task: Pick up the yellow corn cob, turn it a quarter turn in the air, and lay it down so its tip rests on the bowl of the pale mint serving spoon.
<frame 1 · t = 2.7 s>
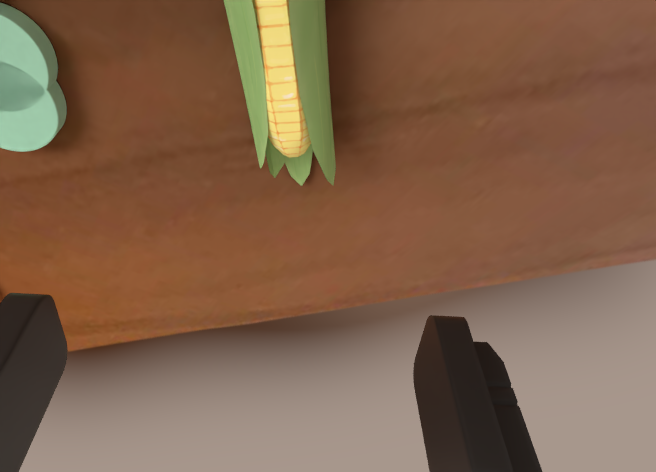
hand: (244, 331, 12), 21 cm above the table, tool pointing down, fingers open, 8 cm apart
edible corn: (282, 23, 29), on the table
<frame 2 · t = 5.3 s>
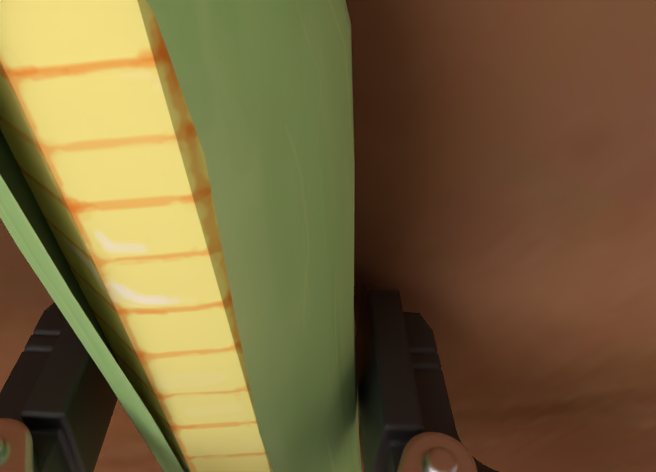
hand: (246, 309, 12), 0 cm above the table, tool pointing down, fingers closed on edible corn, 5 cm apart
edible corn: (252, 287, 13), on the table, touching gripper
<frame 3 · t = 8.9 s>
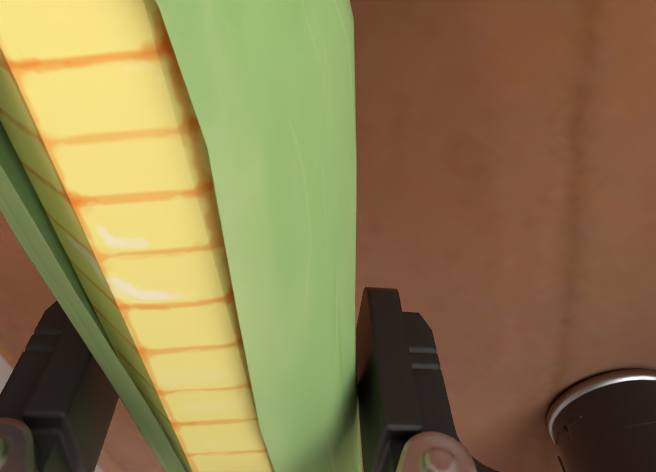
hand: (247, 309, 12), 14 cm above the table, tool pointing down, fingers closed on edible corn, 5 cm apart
edible corn: (253, 285, 13), point 13 cm above the table, touching gripper
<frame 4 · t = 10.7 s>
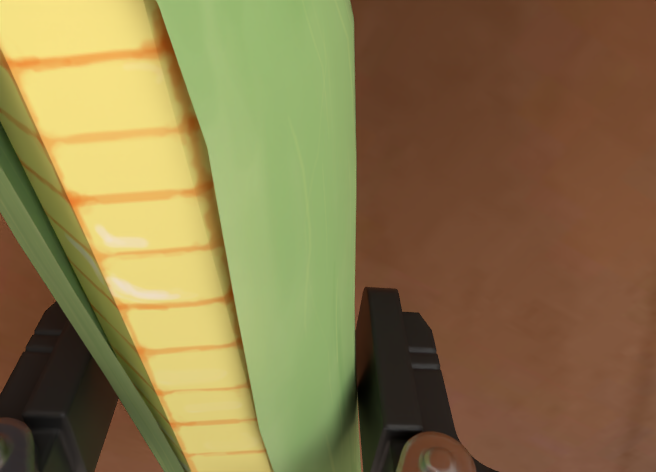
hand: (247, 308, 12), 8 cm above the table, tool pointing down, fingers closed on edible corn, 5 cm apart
edible corn: (252, 285, 13), point 7 cm above the table, touching gripper
when the fingers open (2 cm above the table, at t = 12.4 s): edible corn stays where it is, resting on spoon.
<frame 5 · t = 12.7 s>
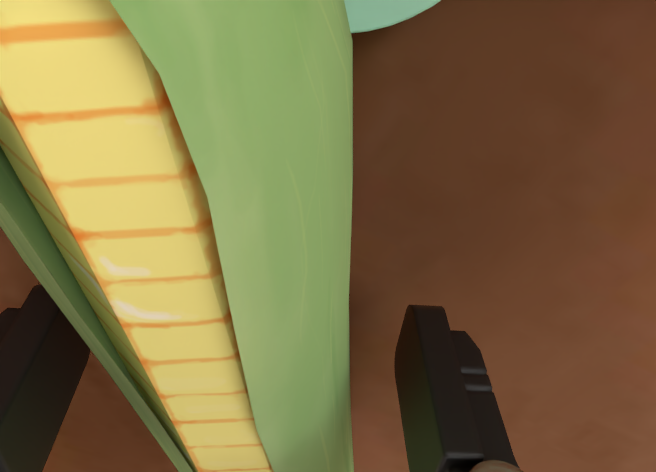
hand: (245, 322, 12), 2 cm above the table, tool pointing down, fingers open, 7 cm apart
edible corn: (250, 275, 13), point 1 cm above the table, touching spoon
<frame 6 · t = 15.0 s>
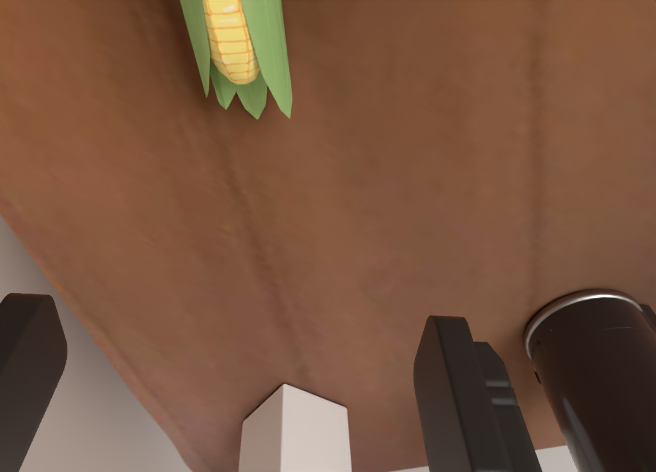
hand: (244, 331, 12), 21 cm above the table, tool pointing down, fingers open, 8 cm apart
milk carton: (294, 411, 50), on the table
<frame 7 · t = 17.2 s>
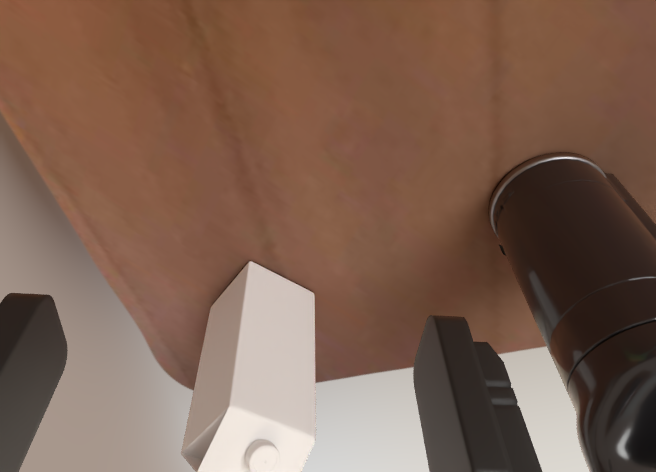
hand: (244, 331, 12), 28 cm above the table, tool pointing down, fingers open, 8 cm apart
milk carton: (262, 297, 50), on the table
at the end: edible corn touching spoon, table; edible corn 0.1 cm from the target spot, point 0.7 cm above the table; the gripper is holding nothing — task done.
